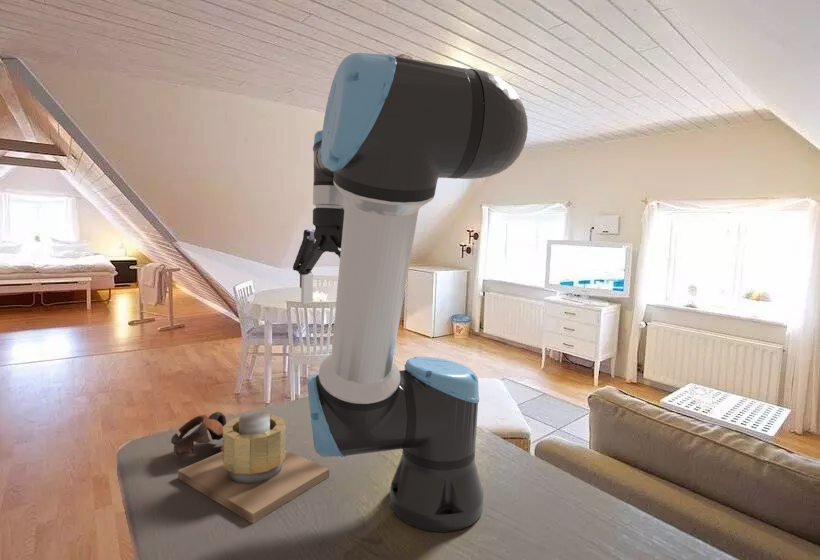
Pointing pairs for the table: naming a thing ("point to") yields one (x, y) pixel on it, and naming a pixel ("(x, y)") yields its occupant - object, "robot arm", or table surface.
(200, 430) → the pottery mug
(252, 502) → the stand
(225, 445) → the brass ring
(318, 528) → the table surface
